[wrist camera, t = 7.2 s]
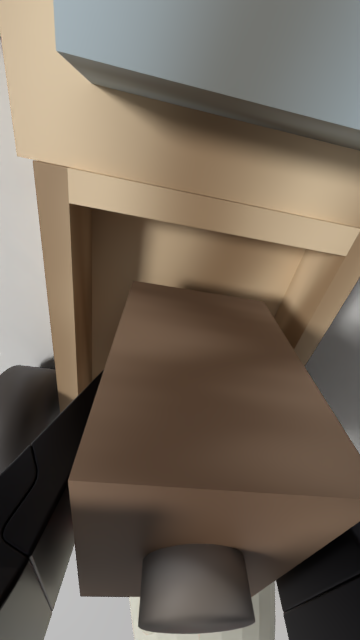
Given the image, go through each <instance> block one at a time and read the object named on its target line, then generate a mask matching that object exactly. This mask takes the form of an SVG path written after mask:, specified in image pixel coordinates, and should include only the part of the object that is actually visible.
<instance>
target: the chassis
mask: <svg viewBox="0 0 360 640" xmlns="http://www.w3.org/2000/svg"><path fill="white" fill-rule="evenodd" d="M0 34H1V42H2V49H3V56H4V64H5V71H6V78H7V86H8V93H9V100H10V108H11V115H12V122H13V130H14V137H15V144H16V152H17V156H19V157H24V158H28V159H33V160H38V161H33V168H34V177H35V186H36V195H37V205H38V214H39V223H40V232H41V241H42V250H43V260H44V269H45V278H46V287H47V296H48V305H49V315H50V324H51V333H52V342H53V351H54V361H55V369H48V368H39V367H30V366H21V365H16V366H13V367H11V368H9V369H7V370H6V371H4V372H3V373H2V374H1V375H0V474H1V473H2V472H3V471H4V470H5V469H6V468H7V467H8V466H9V465H10V464H11V463H12V462H13V461H14V460H15V459H16V458H17V457H18V456H19V455H20V454H21V453H22V452H23V451H24V450H25V449H26V448H27V447H28V446H29V445H31V443H32V442H33V441H34V440H35V439H36V438H37V437H38V436H39V435H40V434H41V433H42V432H43V431H44V430H45V429H46V428H47V427H48V426H49V425H50V424H51V423H52V422H53V420H54V419H55V418H56V417H57V416H58V415H59V414H60V413H61V412H62V411H63V410H64V409H65V408H66V407H67V406H68V405H69V404H70V403H71V402H72V401H73V400H74V399H75V398H76V397H77V396H78V395H79V394H80V393H81V392H82V391H83V390H84V389H85V388H86V387H87V386H88V385H89V384H90V383H91V382H92V381H93V380H94V379H95V378H96V377H97V376H98V375H99V374H100V373H101V372H102V371H103V370H104V368H105V365H106V362H107V359H108V356H109V353H110V350H111V347H112V344H113V341H114V338H115V334H116V331H117V328H118V325H119V322H120V319H121V316H122V313H123V310H124V307H125V304H126V301H127V298H128V295H129V291H130V288H131V285H132V282H133V281H139V282H145V283H152V284H158V285H164V286H170V287H176V288H182V289H189V290H195V291H201V292H207V293H213V294H220V295H226V296H232V297H238V298H244V299H250V300H257V301H263V302H264V303H265V305H266V306H267V308H268V309H269V311H270V313H271V314H272V316H273V317H274V319H275V321H276V322H277V324H278V325H279V327H280V329H281V330H282V332H283V333H284V335H285V337H286V338H287V340H288V341H289V343H290V344H291V346H292V348H293V349H294V351H295V352H296V354H297V356H298V357H299V359H300V360H301V362H302V364H303V365H304V367H305V365H306V363H307V362H308V360H309V359H310V357H311V355H312V354H313V352H314V350H315V349H316V347H317V346H318V344H319V342H320V341H321V339H322V338H323V336H324V334H325V333H326V331H327V329H328V328H329V326H330V325H331V323H332V321H333V320H334V318H335V316H336V315H337V313H338V312H339V310H340V308H341V307H342V305H343V303H344V302H345V300H346V299H347V297H348V295H349V294H350V292H351V290H352V289H353V287H354V286H355V284H356V282H357V281H358V279H359V277H360V0H0ZM31 446H32V445H31Z"/></svg>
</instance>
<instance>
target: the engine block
mask: <svg viewBox="0 0 360 640" xmlns="http://www.w3.org/2000/svg"><path fill="white" fill-rule="evenodd" d="M68 486H69V495H70V504H71V514H72V523H73V532H74V541H75V551H76V560H77V569H78V578H79V588H80V596H92V597H140V605H139V619H138V627H139V628H140V629H142V630H145V631H150V632H156V633H168V634H199V633H213V632H222V631H229V630H235V629H240V628H244V627H247V626H250V625H252V624H253V623H255V615H254V610H253V604H252V598H251V597H253V596H254V595H256V594H257V593H258V592H260V591H261V590H263V589H264V588H266V587H267V586H268V585H270V584H271V583H273V582H274V581H275V580H277V579H278V578H280V577H281V576H283V575H284V574H285V573H287V572H288V571H290V570H291V569H293V568H294V567H295V566H297V565H298V564H300V563H301V562H303V561H304V560H305V559H307V558H308V557H310V556H311V555H313V554H314V553H315V552H317V551H318V550H320V549H321V548H323V547H324V546H325V545H327V544H328V543H330V542H331V541H333V540H334V539H335V538H337V537H338V536H340V535H341V534H343V533H344V532H345V531H347V530H348V529H350V528H351V527H353V526H354V525H355V524H357V523H358V522H360V454H359V453H358V451H357V449H356V448H355V446H354V445H353V443H352V441H351V440H350V438H349V437H348V435H347V434H346V432H345V430H344V429H343V427H342V426H341V424H340V422H339V421H338V419H337V418H336V416H335V414H334V413H333V411H332V410H331V408H330V406H329V405H328V403H327V402H326V400H325V399H324V397H323V395H322V394H321V392H320V391H319V389H318V387H317V386H316V384H315V383H314V381H313V379H312V378H311V376H310V375H309V373H308V371H307V370H306V368H305V367H304V365H303V364H302V362H301V360H300V359H299V357H298V356H297V354H296V352H295V351H294V349H293V348H292V346H291V344H290V343H289V341H288V340H287V338H286V337H285V335H284V333H283V332H282V330H281V329H280V327H279V325H278V324H277V322H276V321H275V319H274V317H273V316H272V314H271V313H270V311H269V309H268V308H267V306H266V305H265V303H264V302H263V301H257V300H250V299H244V298H238V297H232V296H226V295H220V294H213V293H207V292H201V291H195V290H189V289H182V288H176V287H170V286H164V285H158V284H152V283H145V282H139V281H133V282H132V285H131V288H130V291H129V295H128V298H127V301H126V304H125V307H124V310H123V313H122V316H121V319H120V322H119V325H118V328H117V331H116V334H115V338H114V341H113V344H112V347H111V350H110V353H109V356H108V359H107V362H106V365H105V368H104V371H103V374H102V377H101V380H100V384H99V387H98V390H97V393H96V396H95V399H94V402H93V405H92V408H91V411H90V414H89V417H88V420H87V423H86V426H85V430H84V433H83V436H82V439H81V442H80V445H79V448H78V451H77V454H76V457H75V460H74V463H73V466H72V469H71V473H70V476H69V479H68Z"/></svg>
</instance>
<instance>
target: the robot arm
mask: <svg viewBox="0 0 360 640" xmlns="http://www.w3.org/2000/svg"><path fill="white" fill-rule="evenodd" d="M103 371H104V370H103ZM103 371H102V372H101V373H100V374H99V375H98V376H97V377H96V378H95V379H94V380H93V381H92V382H91V383H90V384H89V385H88V386H87V387H86V388H85V389H84V390H83V391H82V392H81V393H80V394H79V395H78V396H77V397H76V398H75V399H74V400H73V401H72V402H71V403H70V404H69V405H68V406H67V407H66V408H65V409H64V410H63V411H62V412H61V413H60V414H59V415H58V416H57V417H56V418H55V419H54V420H53V422H52V423H51V424H50V425H49V426H48V427H47V428H46V429H45V430H44V431H43V432H42V433H41V434H40V435H39V436H38V437H37V438H36V439H35V440H34V441H33V442H32V443H31V445H32V446H31V445H29V446H28V447H27V448H26V449H25V450H24V451H23V452H22V453H21V454H20V455H19V456H18V457H17V458H16V459H15V460H14V461H13V462H12V463H11V464H10V465H9V466H8V467H7V468H6V469H5V470H4V471H3V472H2V473H1V474H0V640H44V636H45V634H46V630H47V627H48V624H49V621H50V618H51V615H52V612H51V611H53V609H54V605H55V602H56V599H57V596H58V593H59V590H60V586H61V584H62V581H63V578H64V575H65V572H66V568H67V565H68V562H69V559H70V556H71V553H72V550H73V546H74V544H75V541H74V532H73V523H72V514H71V504H70V495H69V486H68V479H69V476H70V473H71V469H72V466H73V463H74V460H75V457H76V454H77V451H78V448H79V445H80V442H81V439H82V436H83V433H84V430H85V426H86V423H87V420H88V417H89V414H90V411H91V408H92V405H93V402H94V399H95V396H96V393H97V390H98V387H99V384H100V380H101V377H102V374H103ZM276 582H277V586H278V591H279V595H280V600H281V604H282V609H283V611H284V619H285V624H286V628H287V633H288V637H289V640H360V522H358V523H357V524H355V525H354V526H353V527H351V528H350V529H348V530H347V531H345V532H344V533H343V534H341V535H340V536H338V537H337V538H335V539H334V540H333V541H331V542H330V543H328V544H327V545H325V546H324V547H323V548H321V549H320V550H318V551H317V552H315V553H314V554H313V555H311V556H310V557H308V558H307V559H305V560H304V561H303V562H301V563H300V564H298V565H297V566H295V567H294V568H293V569H291V570H290V571H288V572H287V573H285V574H284V575H283V576H281V577H280V578H278V579H277V580H276Z"/></svg>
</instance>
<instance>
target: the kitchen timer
mask: <svg viewBox="0 0 360 640" xmlns="http://www.w3.org/2000/svg"><path fill="white" fill-rule="evenodd" d="M251 598H252V604H253V610H254V615H255V623H253V624H252V625H250V626H247V627H244V628H240V629H235V630H229V631H222V632H213V633H199V634H168V633H156V632H150V631H145V630H142V629H140V628H139V627H138V619H139V605H140V597H129V600H130V608H131V609H130V610H131V618H132V626H133V634H134V639H135V640H274V639H275V584H274V582H273V583H271V584H270V585H268V586H267V587H266V588H264V589H263V590H261V591H260V592H258V593H257V594H256V595H254V596H253V597H251Z"/></svg>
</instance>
